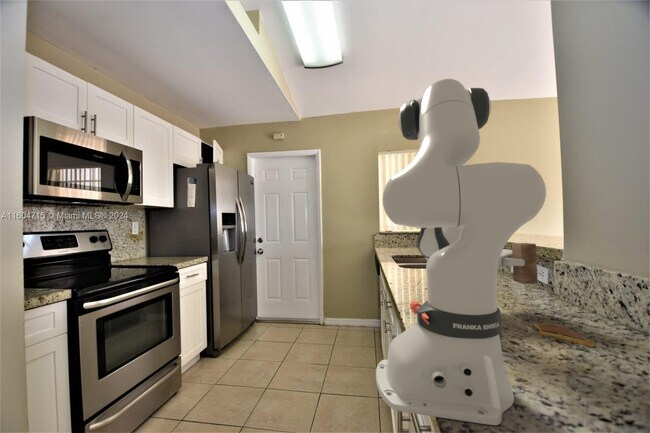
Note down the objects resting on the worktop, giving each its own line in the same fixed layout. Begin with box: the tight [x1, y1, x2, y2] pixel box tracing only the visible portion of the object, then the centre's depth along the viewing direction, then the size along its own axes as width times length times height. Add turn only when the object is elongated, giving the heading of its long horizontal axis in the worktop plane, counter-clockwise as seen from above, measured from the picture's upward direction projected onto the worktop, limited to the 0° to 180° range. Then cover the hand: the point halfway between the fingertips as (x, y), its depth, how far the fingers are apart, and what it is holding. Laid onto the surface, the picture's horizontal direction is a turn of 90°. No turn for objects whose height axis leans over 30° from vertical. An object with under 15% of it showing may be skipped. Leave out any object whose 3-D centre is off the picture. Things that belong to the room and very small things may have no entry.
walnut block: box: [511, 242, 539, 285], centre depth 76 cm, size 4×4×11 cm
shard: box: [533, 322, 597, 348], centre depth 64 cm, size 11×8×2 cm
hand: (528, 261), depth 75 cm, fingers closed on walnut block, 6 cm apart
